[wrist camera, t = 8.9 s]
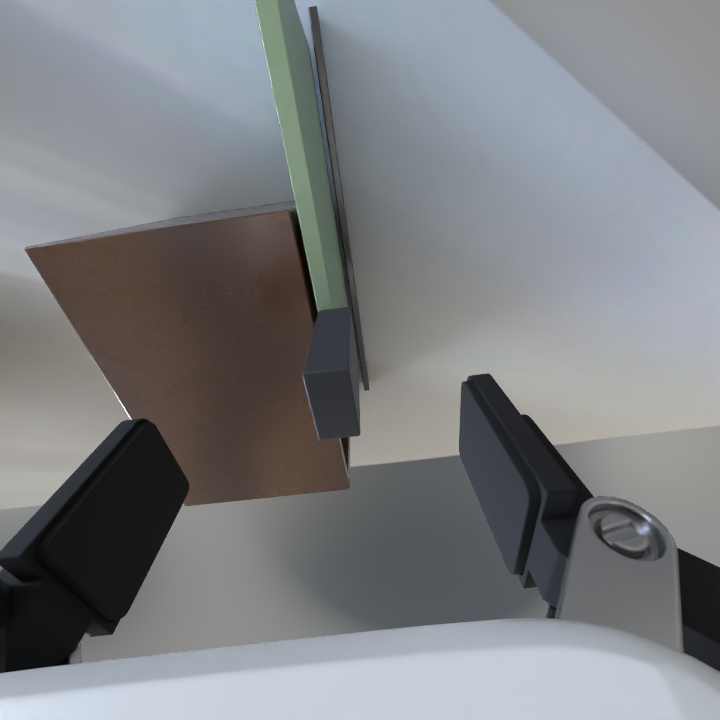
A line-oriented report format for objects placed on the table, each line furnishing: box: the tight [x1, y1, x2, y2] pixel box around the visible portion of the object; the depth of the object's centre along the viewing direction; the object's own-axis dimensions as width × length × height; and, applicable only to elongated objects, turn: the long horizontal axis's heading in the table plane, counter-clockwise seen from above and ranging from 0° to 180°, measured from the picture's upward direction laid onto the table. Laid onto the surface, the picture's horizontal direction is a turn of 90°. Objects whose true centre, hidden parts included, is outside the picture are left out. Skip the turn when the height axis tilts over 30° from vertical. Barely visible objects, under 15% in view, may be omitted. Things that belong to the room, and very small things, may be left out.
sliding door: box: [254, 0, 360, 440], centre depth 16 cm, size 2×17×19 cm, turn 7°
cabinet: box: [25, 6, 369, 506], centre depth 21 cm, size 14×28×13 cm, turn 7°
